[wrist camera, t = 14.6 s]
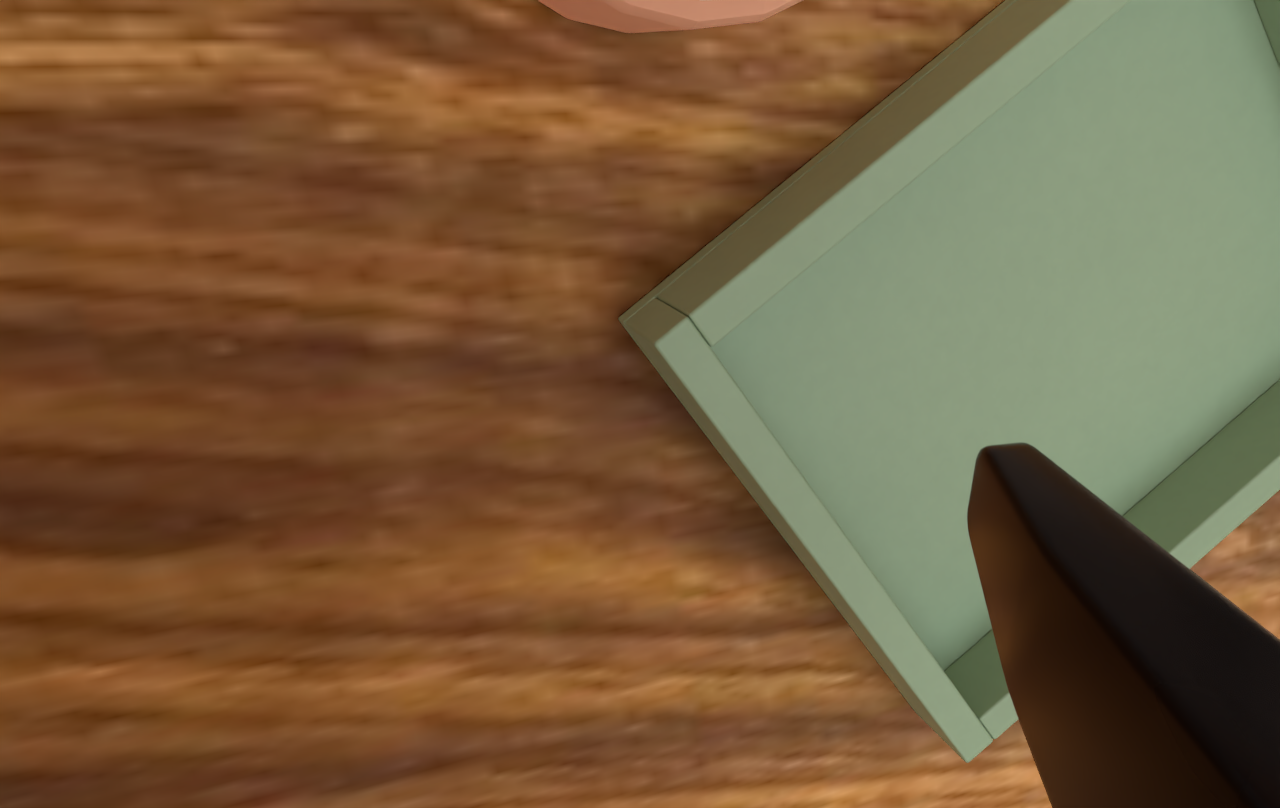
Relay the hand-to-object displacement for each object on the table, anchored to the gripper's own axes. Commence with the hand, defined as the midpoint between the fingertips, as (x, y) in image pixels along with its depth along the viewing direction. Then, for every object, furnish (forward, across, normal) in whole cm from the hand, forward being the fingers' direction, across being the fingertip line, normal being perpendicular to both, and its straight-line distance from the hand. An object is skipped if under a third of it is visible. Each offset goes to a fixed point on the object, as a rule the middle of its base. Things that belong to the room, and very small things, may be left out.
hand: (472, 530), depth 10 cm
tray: (+13, -11, +8) cm, 19 cm away
